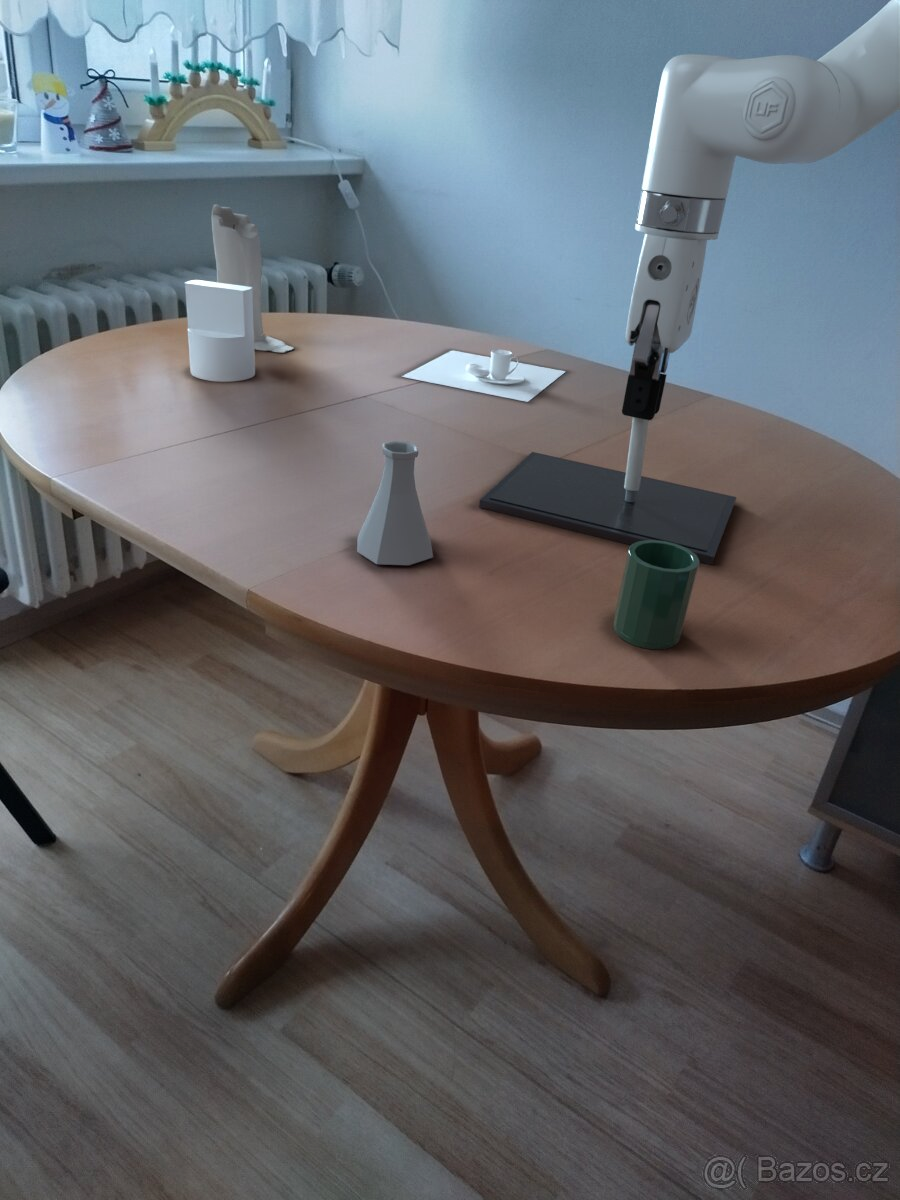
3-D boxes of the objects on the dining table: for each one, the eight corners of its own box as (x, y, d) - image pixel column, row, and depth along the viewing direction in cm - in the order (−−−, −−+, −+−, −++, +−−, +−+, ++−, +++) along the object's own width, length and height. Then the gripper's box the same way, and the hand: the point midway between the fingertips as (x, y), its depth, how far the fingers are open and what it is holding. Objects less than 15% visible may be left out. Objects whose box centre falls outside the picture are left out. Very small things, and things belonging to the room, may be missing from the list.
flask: (345, 537, 81) (347, 435, 76) (416, 529, 84) (423, 430, 79) (370, 572, 75) (374, 465, 70) (446, 563, 78) (455, 458, 73)
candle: (274, 355, 134) (272, 215, 124) (208, 338, 139) (200, 203, 129) (304, 347, 139) (303, 212, 129) (239, 331, 145) (233, 201, 135)
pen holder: (685, 625, 72) (704, 550, 68) (673, 656, 67) (692, 578, 64) (621, 608, 73) (637, 534, 70) (606, 637, 69) (621, 560, 66)
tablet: (734, 504, 96) (736, 496, 95) (711, 565, 82) (714, 555, 82) (531, 458, 103) (532, 450, 103) (478, 507, 89) (479, 498, 89)
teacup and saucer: (459, 379, 130) (462, 352, 128) (478, 368, 137) (481, 342, 135) (514, 390, 128) (517, 362, 126) (531, 378, 134) (534, 351, 132)
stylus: (639, 499, 92) (658, 357, 85) (635, 504, 91) (655, 360, 84) (624, 496, 92) (642, 355, 85) (620, 502, 91) (638, 358, 84)
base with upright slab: (178, 376, 120) (172, 286, 114) (208, 360, 128) (203, 276, 122) (239, 385, 119) (235, 294, 113) (265, 369, 127) (263, 283, 121)
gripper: (707, 229, 70) (661, 443, 80) (732, 215, 83) (690, 402, 92) (617, 217, 73) (583, 427, 82) (655, 206, 85) (622, 389, 95)
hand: (640, 412), depth 87 cm, fingers closed on stylus, 1 cm apart
